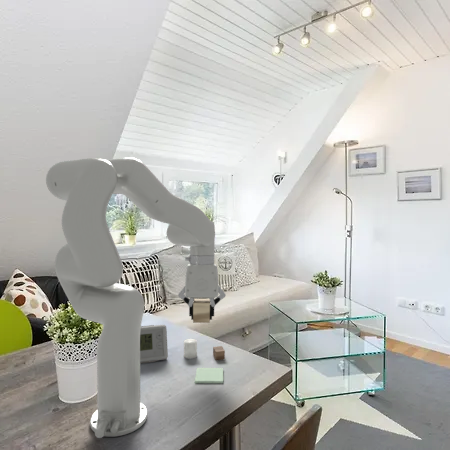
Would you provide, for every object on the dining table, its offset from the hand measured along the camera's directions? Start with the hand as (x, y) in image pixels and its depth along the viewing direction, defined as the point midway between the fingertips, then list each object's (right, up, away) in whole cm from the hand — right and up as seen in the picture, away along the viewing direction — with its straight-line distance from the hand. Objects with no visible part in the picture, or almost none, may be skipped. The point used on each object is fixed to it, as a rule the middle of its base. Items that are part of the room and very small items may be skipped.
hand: (201, 317), depth 107 cm
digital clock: (-20, -15, +4) cm, 25 cm away
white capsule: (-4, -15, +8) cm, 17 cm away
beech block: (0, -1, 0) cm, 1 cm away
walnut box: (+5, -15, +7) cm, 17 cm away
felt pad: (+3, -16, -6) cm, 17 cm away
